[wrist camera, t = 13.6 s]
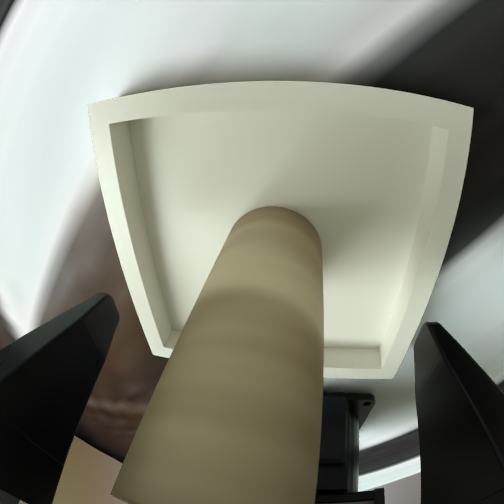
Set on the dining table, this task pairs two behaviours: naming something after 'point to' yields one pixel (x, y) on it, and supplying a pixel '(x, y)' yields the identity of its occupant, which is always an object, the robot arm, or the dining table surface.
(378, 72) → the dining table surface
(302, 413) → the dowel
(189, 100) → the tray
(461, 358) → the robot arm
